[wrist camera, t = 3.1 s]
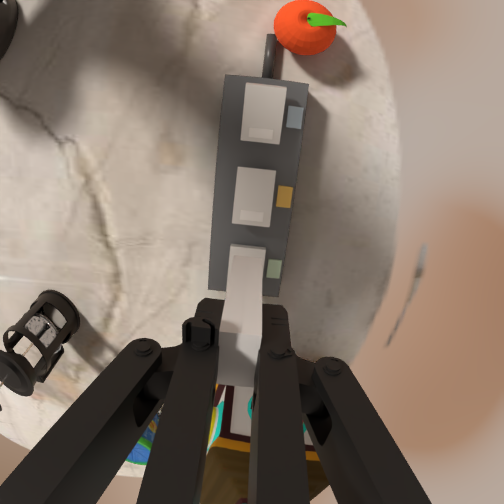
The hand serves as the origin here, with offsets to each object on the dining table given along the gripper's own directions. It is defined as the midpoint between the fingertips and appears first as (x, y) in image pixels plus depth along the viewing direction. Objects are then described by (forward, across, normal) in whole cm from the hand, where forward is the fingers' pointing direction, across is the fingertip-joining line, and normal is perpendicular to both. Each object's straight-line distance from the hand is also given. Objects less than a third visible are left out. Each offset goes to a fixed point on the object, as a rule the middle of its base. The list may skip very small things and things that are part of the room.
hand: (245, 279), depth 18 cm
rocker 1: (+19, 0, +9) cm, 21 cm away
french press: (+25, -32, -25) cm, 47 cm away
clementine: (+25, +4, +20) cm, 32 cm away
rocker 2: (+19, 0, 0) cm, 19 cm away
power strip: (+24, 0, +3) cm, 25 cm away
